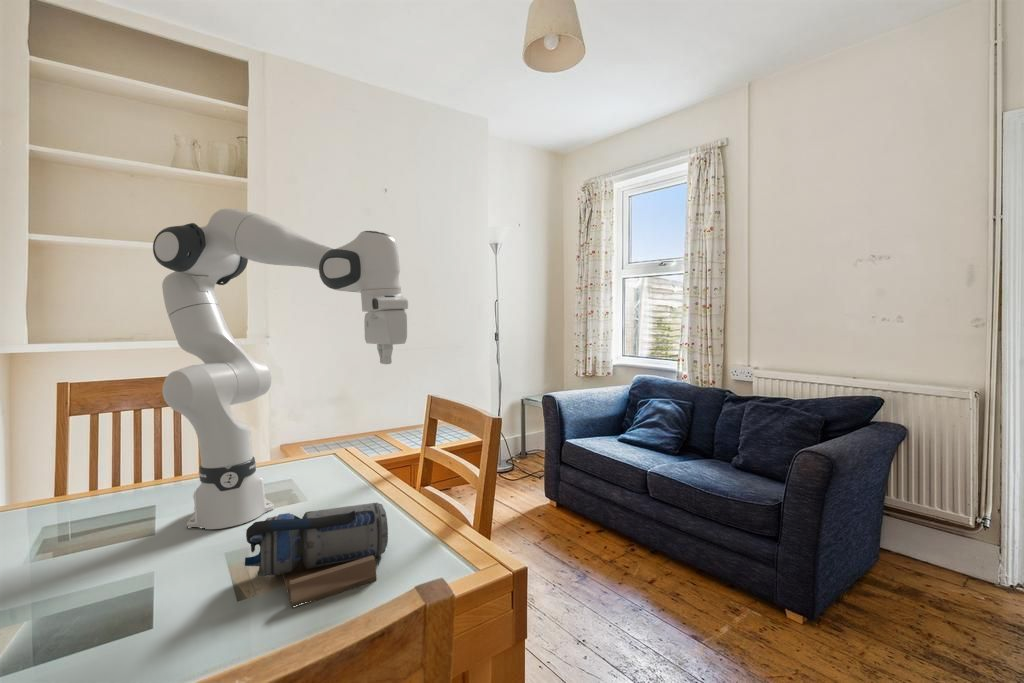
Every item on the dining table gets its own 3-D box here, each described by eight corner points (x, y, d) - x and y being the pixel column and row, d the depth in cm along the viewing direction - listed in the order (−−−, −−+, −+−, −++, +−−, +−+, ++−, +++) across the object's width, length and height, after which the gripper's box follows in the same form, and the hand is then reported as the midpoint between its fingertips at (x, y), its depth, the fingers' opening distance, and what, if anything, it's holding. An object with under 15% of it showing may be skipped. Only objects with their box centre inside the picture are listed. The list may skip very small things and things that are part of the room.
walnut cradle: (278, 562, 95) (277, 542, 95) (350, 541, 102) (349, 523, 102) (292, 608, 79) (290, 584, 79) (376, 580, 86) (375, 558, 86)
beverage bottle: (392, 531, 89) (238, 556, 79) (384, 565, 97) (243, 592, 86) (385, 484, 96) (243, 501, 86) (378, 520, 104) (247, 540, 93)
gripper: (356, 306, 116) (359, 363, 116) (381, 300, 98) (385, 367, 99) (381, 305, 119) (385, 360, 120) (410, 300, 102) (415, 364, 102)
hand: (385, 363), depth 109 cm, fingers closed
